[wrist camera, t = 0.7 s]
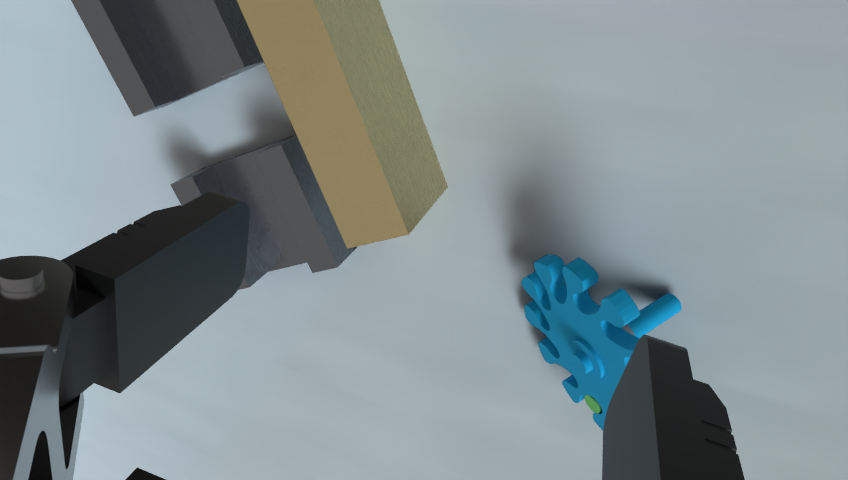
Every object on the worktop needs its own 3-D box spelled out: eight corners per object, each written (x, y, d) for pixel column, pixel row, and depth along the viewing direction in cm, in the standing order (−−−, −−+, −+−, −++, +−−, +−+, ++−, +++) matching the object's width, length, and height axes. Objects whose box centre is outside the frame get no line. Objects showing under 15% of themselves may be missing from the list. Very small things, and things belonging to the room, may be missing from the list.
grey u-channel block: (208, -85, 28) (172, -88, 26) (357, 246, 34) (337, 267, 32) (101, -19, 32) (62, -16, 30) (252, 272, 37) (228, 291, 35)
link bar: (341, -105, 26) (266, -116, 21) (448, 185, 30) (408, 234, 25) (285, -74, 27) (202, -77, 22) (395, 199, 32) (347, 248, 27)
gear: (493, 237, 29) (651, 331, 20) (587, 186, 30) (769, 253, 22) (537, 398, 34) (676, 524, 26) (615, 346, 36) (769, 450, 27)
